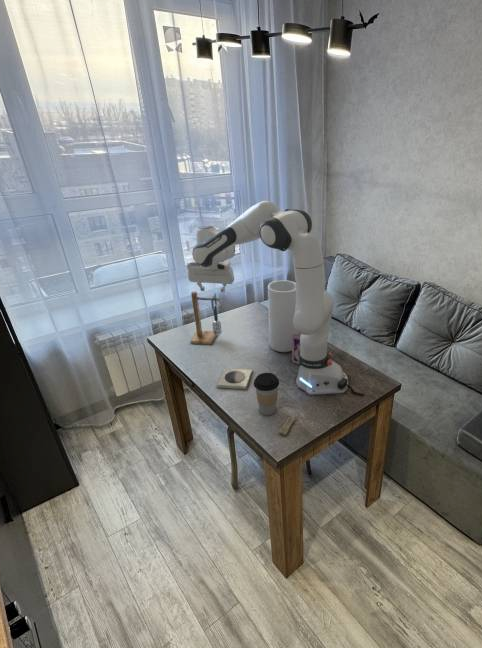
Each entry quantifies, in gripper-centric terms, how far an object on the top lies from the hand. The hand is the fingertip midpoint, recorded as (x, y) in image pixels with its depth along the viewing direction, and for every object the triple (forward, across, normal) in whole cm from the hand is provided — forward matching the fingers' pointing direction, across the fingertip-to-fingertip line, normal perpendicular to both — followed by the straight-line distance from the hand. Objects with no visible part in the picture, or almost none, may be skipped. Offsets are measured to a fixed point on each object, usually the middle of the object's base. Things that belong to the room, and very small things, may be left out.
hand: (212, 291), depth 184 cm
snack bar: (+26, +42, -58) cm, 76 cm away
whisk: (+24, 0, 0) cm, 24 cm away
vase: (+26, +33, -2) cm, 42 cm away
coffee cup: (+26, +33, -50) cm, 65 cm away
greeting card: (+26, +45, -16) cm, 54 cm away
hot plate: (+26, +16, -32) cm, 44 cm away
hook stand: (+26, -4, 0) cm, 26 cm away
